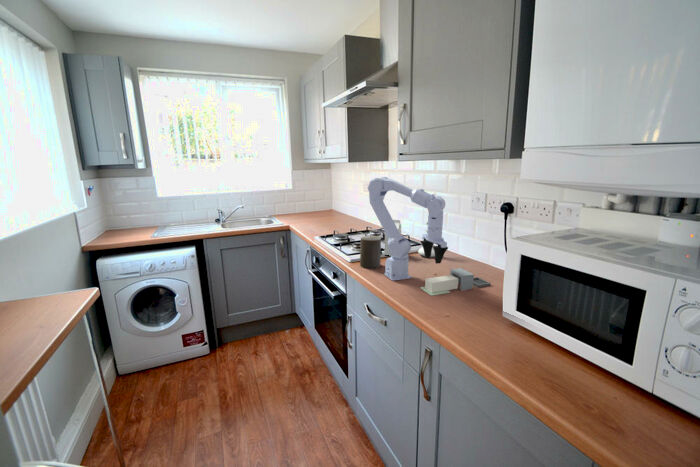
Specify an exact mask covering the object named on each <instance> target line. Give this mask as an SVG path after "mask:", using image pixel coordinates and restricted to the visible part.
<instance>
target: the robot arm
mask: <svg viewBox="0 0 700 467" xmlns="http://www.w3.org/2000/svg"><path fill="white" fill-rule="evenodd" d="M367 190H368V194H369V195H368V197H369V204H370V206H371V207H372V209H373V212H374V213H375V215H376V217H377V219H378V221H379V223H380V226H381V228H382V229H383V231H384V234H385V233H386V235H387V237H388V246H389V248H390V254H391V255H392V256H389V257H387V258H386V259H385V262H384V263H385V265H384V266H385V268H384V269H385V271H384V274H383V275H384V276H386V277H387V278H388V279H389V280H391V281H392V282H393V281H399V280H407V279H412V278H413V276H411V275H410V274H409V253H410V251H411V249H412V245H411V243H410V242H409V240H407V239H406V238H405V236H404V235H403V234H402V233H401V234H400V233H399V231H398V229H397V227H396V225H395V223H394V221H393V220H394V219H393V217H392V216H391V213H390V212H389V210H388V208H387V205H385V202H384V200H385V197H386V195H387V193H388V192H389V191H390V192H391V191H393V192H395V193H398V194H400V195H403V196H405V197H409V198H410V200H411V202H412V203H414V204H416V205H418V206H421V207H422V208H425V209H427V211H429V212H428V215H427V216H428V217H427V222H428V225H427V228H426V229H427V232H426V234H422V239H421V240H420V243H421V247H423V249H424V254H425V256H424V257H425V259H429V258H431V252H432V247H433V249H434V252H435V256H434V262H435V264H436V265H437V264H441V263H442V261H443V258H444V255H445V253H446V252H447V251H448V249H449V246H448V242H447V241H445V239H444V237H443V224H444V209H445V207H446V201H445V199H444V198H443V197H441V196H439V195H438V196H436V195H435V194H434V193H433V194H432V193H429V192H427V191H425V189H423V188H420V189H419V188H416V189H413V188H410V187H408V186H406V185H405V184H402V183H400V182H399V181H397V180H394V179H393V178H388V177H387V176H381V177H373V178H372V179H370V181H369V183H368V186H367ZM434 244H435V245H434ZM433 245H434V246H433Z"/></svg>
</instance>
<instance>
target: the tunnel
mask: <svg viewBox="0 0 700 467" xmlns="http://www.w3.org/2000/svg"><path fill="white" fill-rule="evenodd" d="M449 270H450V271H449V272H450V273H449V275H452V276H454V277H456V278H458V284H460V286H459V290H461V291H467V290H473V288H474V285H473V279H474V278H475V277H474V276H475V274H473V273H472V272H470V271H468V270H465V269H463V268H462V267H459V268H451V269H449Z"/></svg>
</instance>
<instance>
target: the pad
mask: <svg viewBox="0 0 700 467" xmlns="http://www.w3.org/2000/svg"><path fill="white" fill-rule="evenodd" d="M419 289H421V290H422V291H424V292H425V293H426V294H428V295H429V296H431V297H432V296H438V295H444V294H449V293H451V291H450V290H445V291H439V292H433V293H431V292H430V291H428V290H427V289H425V286H420V287H419Z"/></svg>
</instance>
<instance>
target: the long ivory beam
mask: <svg viewBox="0 0 700 467" xmlns="http://www.w3.org/2000/svg"><path fill="white" fill-rule="evenodd" d="M424 281H425V282H424V283H425V284H424V287H425V289H427V290H428V291H430V292H431V293H433V292H439V291H445V290H448V291H450V290H456V289H459V283H458V278H456V277H454V276H452V275H450V274H449V275H441V276H436V277H430V278H429V277H427V278H425V280H424Z"/></svg>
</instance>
